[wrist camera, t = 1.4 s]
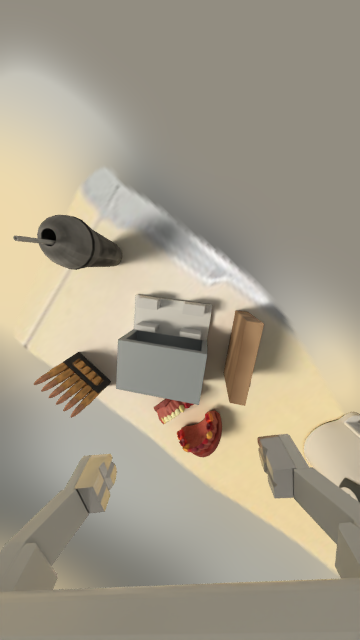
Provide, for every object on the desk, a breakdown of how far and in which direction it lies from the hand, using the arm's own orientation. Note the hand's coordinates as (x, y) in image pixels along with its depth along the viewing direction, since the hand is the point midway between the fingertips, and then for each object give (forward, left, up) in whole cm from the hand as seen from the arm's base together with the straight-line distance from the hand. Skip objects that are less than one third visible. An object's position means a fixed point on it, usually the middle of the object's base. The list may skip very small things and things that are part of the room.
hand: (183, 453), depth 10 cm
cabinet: (+6, +4, -29) cm, 30 cm away
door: (-8, +3, -29) cm, 30 cm away
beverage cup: (+20, -12, -29) cm, 37 cm away
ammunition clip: (+24, +15, -29) cm, 41 cm away
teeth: (0, +21, -29) cm, 36 cm away
